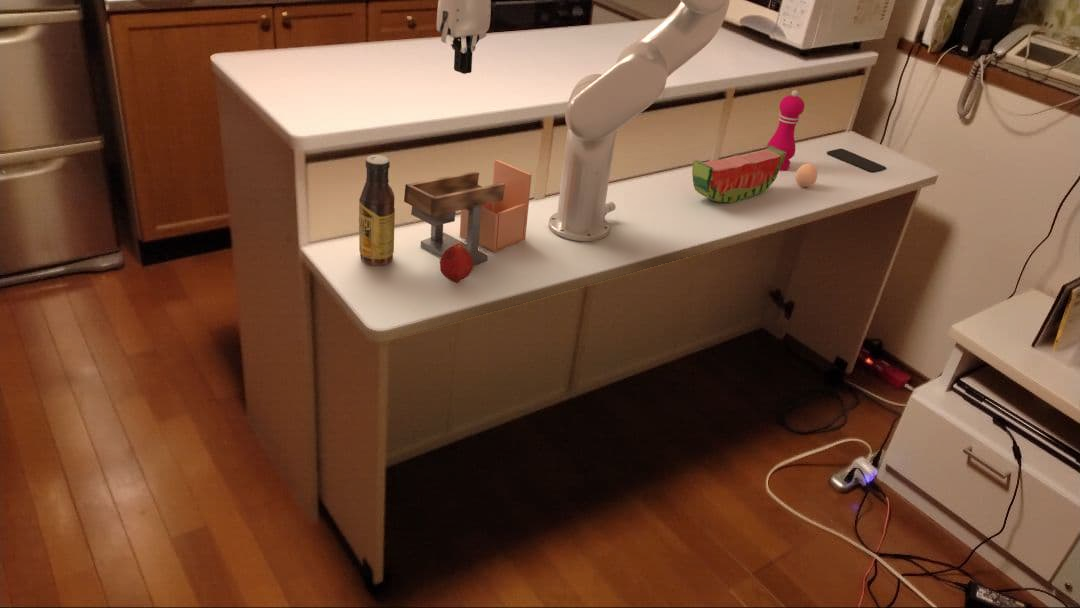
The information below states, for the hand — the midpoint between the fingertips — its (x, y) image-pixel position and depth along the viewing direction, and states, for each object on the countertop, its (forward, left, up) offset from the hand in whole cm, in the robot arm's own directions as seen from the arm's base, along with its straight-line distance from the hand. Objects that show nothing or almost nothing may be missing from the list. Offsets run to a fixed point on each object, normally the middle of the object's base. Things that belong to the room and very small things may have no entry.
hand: (462, 71), depth 160 cm
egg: (-78, +42, -29) cm, 93 cm away
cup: (+3, +14, -29) cm, 32 cm away
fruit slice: (-57, +34, -29) cm, 73 cm away
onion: (+21, +22, -29) cm, 42 cm away
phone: (-108, +43, -30) cm, 120 cm away
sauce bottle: (+27, +7, -29) cm, 40 cm away
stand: (+14, +14, -29) cm, 35 cm away
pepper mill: (-85, +31, -29) cm, 95 cm away
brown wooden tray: (+15, +12, -20) cm, 28 cm away
